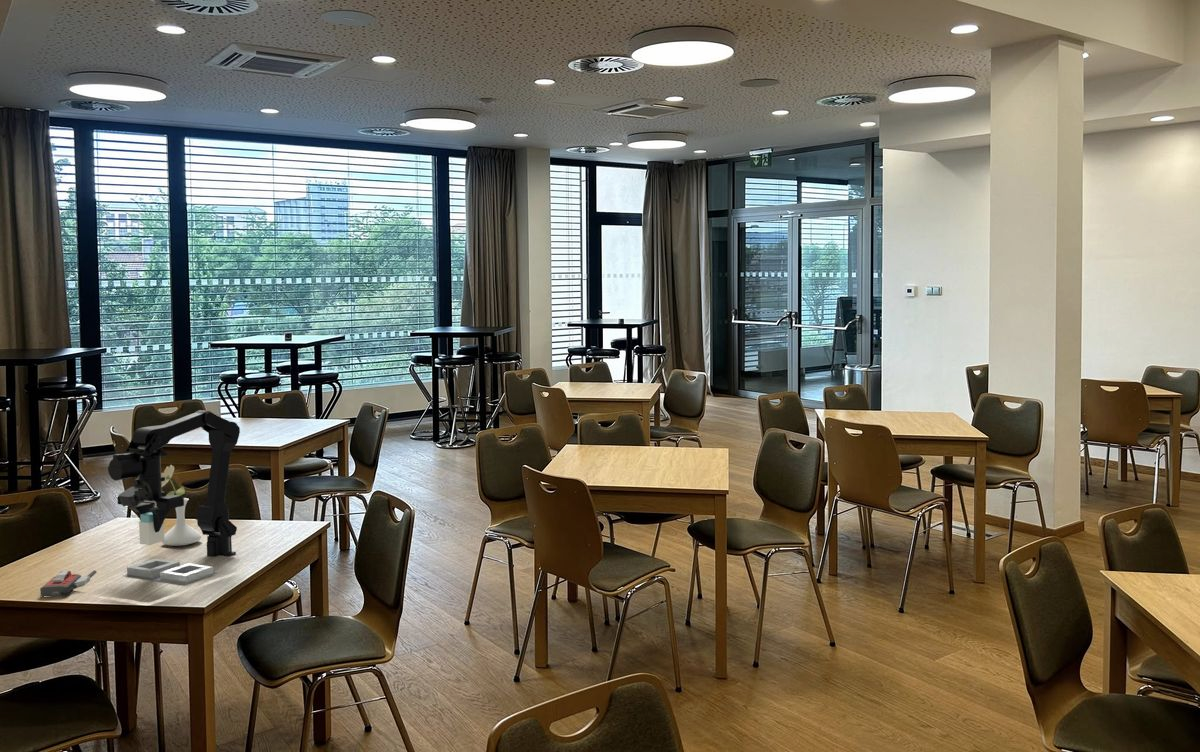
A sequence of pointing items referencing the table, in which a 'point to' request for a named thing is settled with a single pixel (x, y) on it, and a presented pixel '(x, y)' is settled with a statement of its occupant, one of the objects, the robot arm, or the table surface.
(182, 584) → the station board
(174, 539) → the flower in vase
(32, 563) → the table surface
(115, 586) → the table surface
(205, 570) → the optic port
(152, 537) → the plug
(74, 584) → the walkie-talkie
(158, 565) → the grey square socket frame
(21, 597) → the table surface
